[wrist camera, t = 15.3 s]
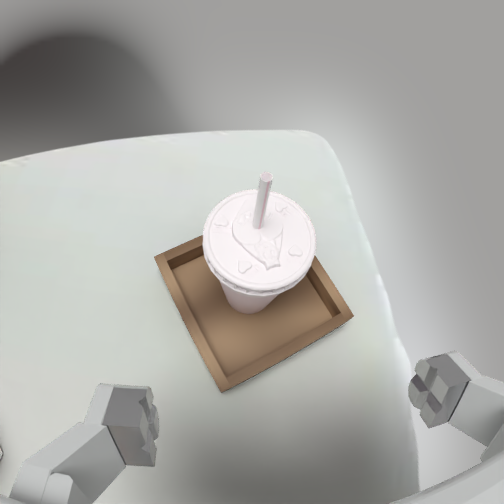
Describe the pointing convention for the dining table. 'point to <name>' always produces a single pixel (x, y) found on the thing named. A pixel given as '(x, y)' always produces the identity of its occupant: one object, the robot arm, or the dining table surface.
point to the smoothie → (258, 245)
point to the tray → (248, 316)
